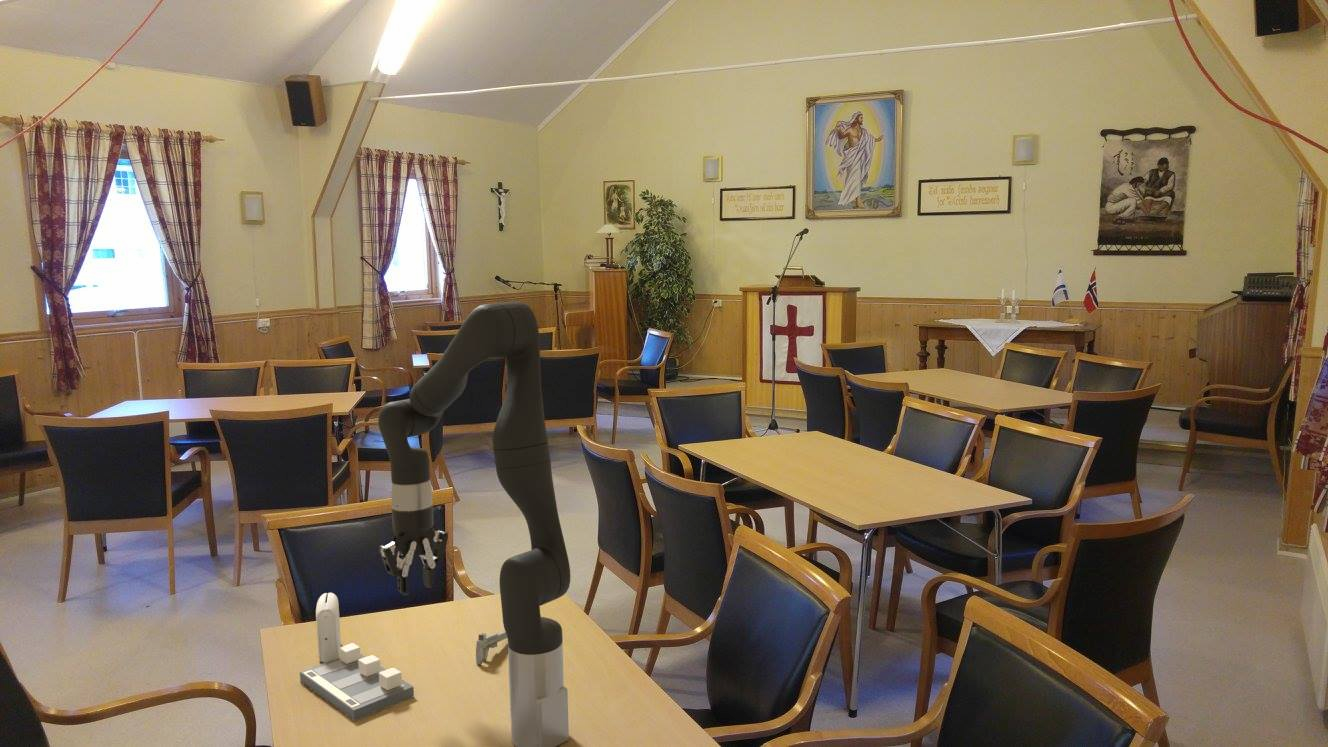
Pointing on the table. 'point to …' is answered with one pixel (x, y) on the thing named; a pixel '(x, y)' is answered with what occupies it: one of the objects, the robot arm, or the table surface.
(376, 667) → the middle tab
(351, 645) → the tab
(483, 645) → the caliper
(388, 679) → the tab
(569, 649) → the table surface
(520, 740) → the robot arm
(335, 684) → the switch board
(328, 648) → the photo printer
